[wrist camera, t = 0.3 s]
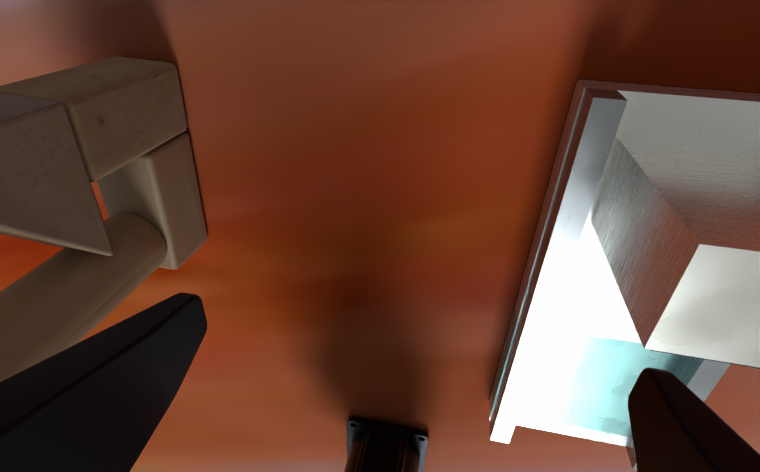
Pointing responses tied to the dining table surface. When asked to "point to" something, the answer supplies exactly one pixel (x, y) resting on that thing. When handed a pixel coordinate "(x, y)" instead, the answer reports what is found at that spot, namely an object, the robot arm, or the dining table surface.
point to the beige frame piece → (91, 196)
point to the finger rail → (636, 259)
